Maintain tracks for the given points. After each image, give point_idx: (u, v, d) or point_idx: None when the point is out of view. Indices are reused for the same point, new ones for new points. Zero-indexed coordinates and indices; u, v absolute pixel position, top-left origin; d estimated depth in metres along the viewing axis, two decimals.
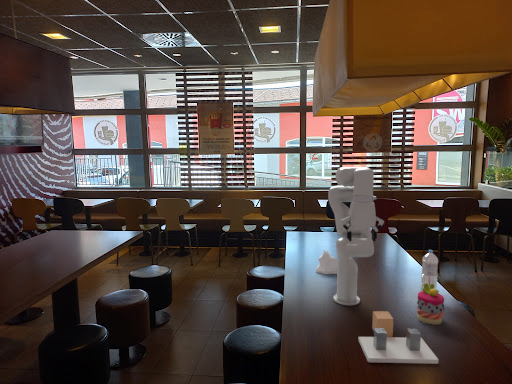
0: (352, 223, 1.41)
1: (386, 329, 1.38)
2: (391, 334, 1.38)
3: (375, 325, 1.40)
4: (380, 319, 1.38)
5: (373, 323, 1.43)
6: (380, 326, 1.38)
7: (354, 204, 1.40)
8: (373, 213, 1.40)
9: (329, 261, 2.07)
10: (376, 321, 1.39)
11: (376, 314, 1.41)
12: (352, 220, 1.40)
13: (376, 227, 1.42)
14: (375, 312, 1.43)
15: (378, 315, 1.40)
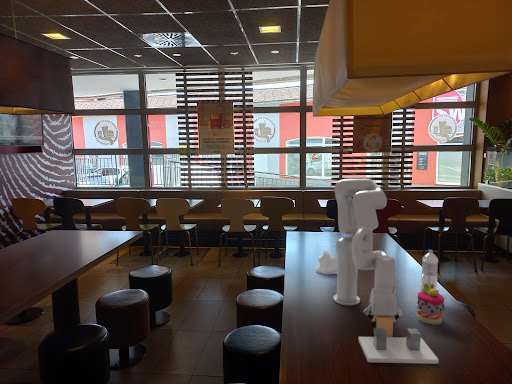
0: (373, 312, 1.39)
1: (386, 329, 1.38)
2: (391, 334, 1.38)
3: None
4: (380, 319, 1.38)
5: None
6: (380, 326, 1.38)
7: (375, 293, 1.38)
8: (395, 302, 1.38)
9: (329, 261, 2.07)
10: (376, 321, 1.39)
11: None
12: (373, 309, 1.38)
13: None
14: None
15: None
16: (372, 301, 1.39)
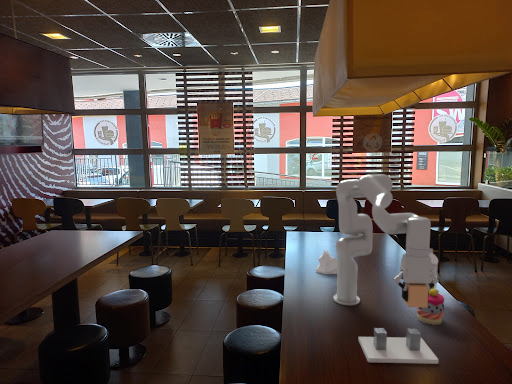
0: (405, 279, 1.23)
1: (420, 298, 1.23)
2: (426, 304, 1.23)
3: None
4: (413, 287, 1.23)
5: None
6: (413, 295, 1.23)
7: (408, 258, 1.23)
8: (430, 268, 1.22)
9: (329, 261, 2.07)
10: (408, 290, 1.24)
11: None
12: (405, 276, 1.23)
13: (428, 285, 1.25)
14: None
15: (411, 284, 1.25)
16: (404, 267, 1.24)
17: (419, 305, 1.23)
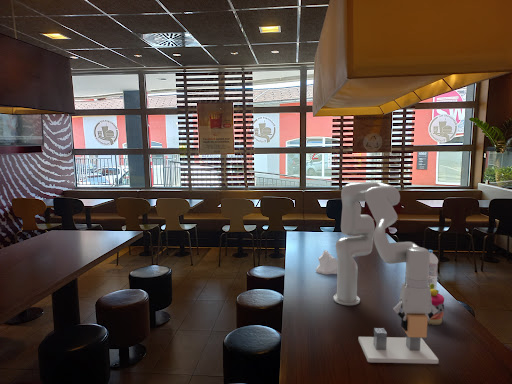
0: (405, 309, 1.24)
1: (419, 329, 1.24)
2: (425, 334, 1.24)
3: None
4: (413, 317, 1.23)
5: None
6: (413, 325, 1.24)
7: (407, 288, 1.24)
8: (429, 299, 1.23)
9: (329, 261, 2.07)
10: (408, 320, 1.25)
11: None
12: (405, 306, 1.24)
13: None
14: None
15: None
16: (403, 297, 1.25)
17: (418, 335, 1.24)
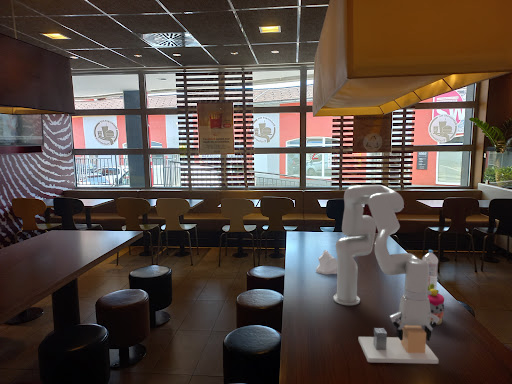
0: (404, 321, 1.25)
1: (418, 344, 1.25)
2: (423, 350, 1.25)
3: (405, 340, 1.27)
4: (411, 333, 1.24)
5: (403, 337, 1.29)
6: (411, 341, 1.25)
7: (406, 301, 1.24)
8: (428, 311, 1.24)
9: (329, 261, 2.07)
10: (407, 335, 1.26)
11: (406, 327, 1.28)
12: (404, 318, 1.25)
13: (430, 325, 1.27)
14: (405, 325, 1.29)
15: (409, 329, 1.27)
16: (402, 309, 1.25)
17: (417, 351, 1.25)
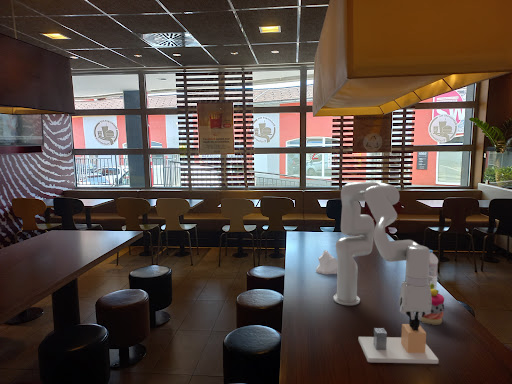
0: (405, 307, 1.24)
1: (418, 344, 1.25)
2: (423, 350, 1.25)
3: (405, 340, 1.27)
4: (411, 333, 1.24)
5: (403, 337, 1.29)
6: (411, 341, 1.25)
7: (407, 287, 1.24)
8: (429, 297, 1.23)
9: (329, 261, 2.07)
10: (407, 335, 1.26)
11: (406, 327, 1.28)
12: (405, 304, 1.24)
13: None
14: (405, 325, 1.29)
15: (409, 329, 1.27)
16: (403, 295, 1.25)
17: (417, 351, 1.25)
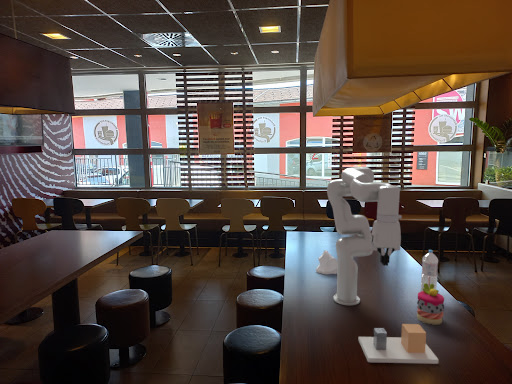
0: (375, 244, 1.32)
1: (418, 344, 1.25)
2: (423, 350, 1.25)
3: (405, 340, 1.27)
4: (411, 333, 1.24)
5: (403, 337, 1.29)
6: (411, 341, 1.25)
7: (378, 224, 1.31)
8: (398, 233, 1.31)
9: (329, 261, 2.07)
10: (407, 335, 1.26)
11: (406, 327, 1.28)
12: (376, 240, 1.32)
13: None
14: (405, 325, 1.29)
15: (409, 329, 1.27)
16: (374, 232, 1.32)
17: (417, 351, 1.25)
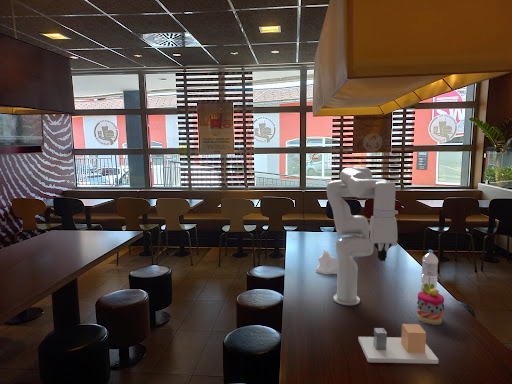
0: (372, 239, 1.33)
1: (418, 344, 1.25)
2: (423, 350, 1.25)
3: (405, 340, 1.27)
4: (411, 333, 1.24)
5: (403, 337, 1.29)
6: (411, 341, 1.25)
7: (375, 219, 1.32)
8: (395, 228, 1.32)
9: (329, 261, 2.07)
10: (407, 335, 1.26)
11: (406, 327, 1.28)
12: (372, 236, 1.33)
13: None
14: (405, 325, 1.29)
15: (409, 329, 1.27)
16: (371, 228, 1.33)
17: (417, 351, 1.25)
